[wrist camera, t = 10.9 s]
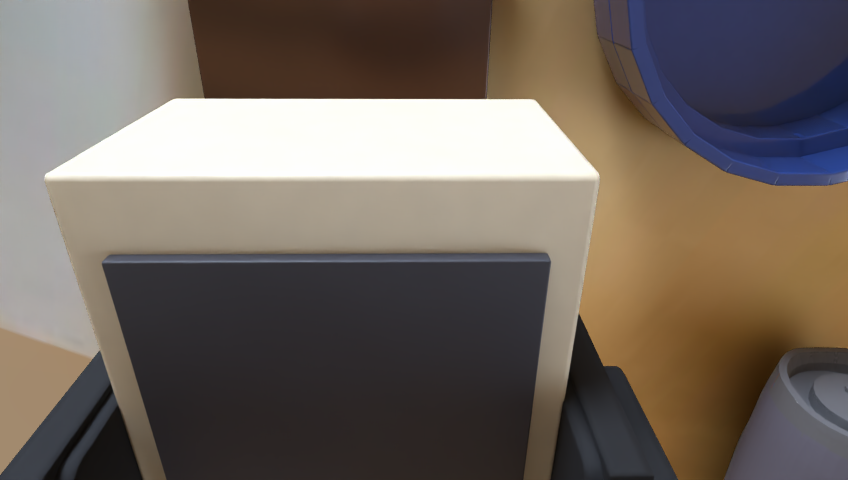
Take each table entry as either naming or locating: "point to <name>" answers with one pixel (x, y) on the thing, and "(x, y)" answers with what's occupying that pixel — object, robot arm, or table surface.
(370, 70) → the board
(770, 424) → the bluetooth speaker
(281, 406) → the calculator
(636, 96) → the bowl
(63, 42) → the table surface
